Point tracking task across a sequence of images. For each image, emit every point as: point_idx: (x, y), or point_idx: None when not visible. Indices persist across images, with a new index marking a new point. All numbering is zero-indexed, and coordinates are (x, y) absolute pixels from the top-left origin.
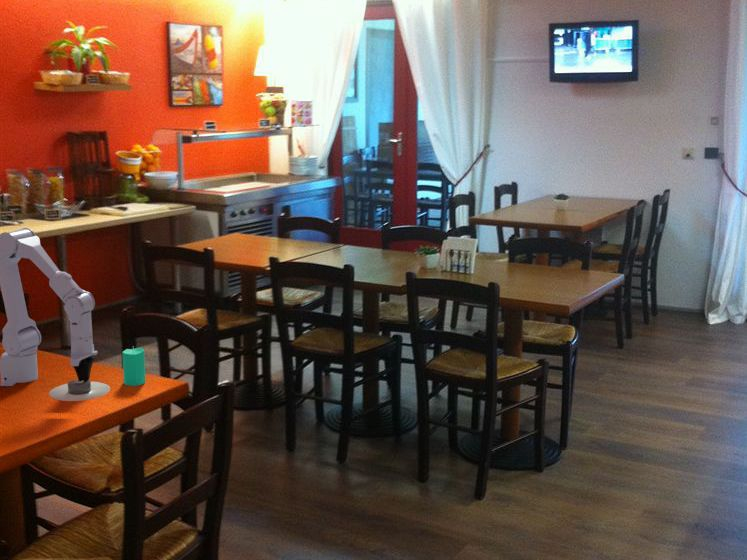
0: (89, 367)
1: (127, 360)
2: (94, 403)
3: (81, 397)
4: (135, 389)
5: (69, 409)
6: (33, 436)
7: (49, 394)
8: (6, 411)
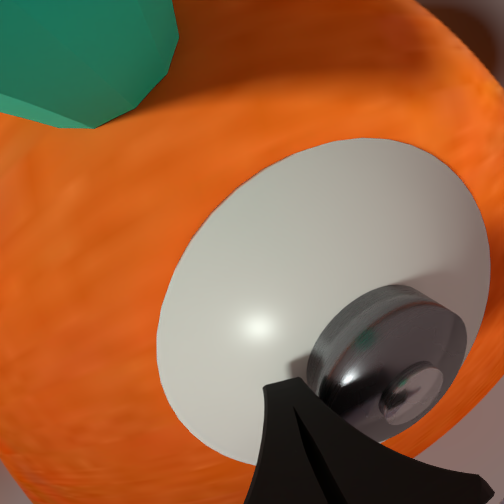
0: (379, 479)
1: None
2: None
3: (464, 275)
4: None
5: (499, 266)
6: None
7: None
8: (464, 416)
